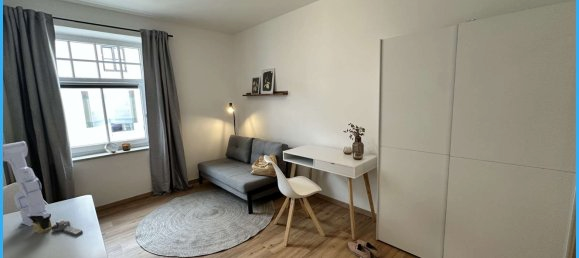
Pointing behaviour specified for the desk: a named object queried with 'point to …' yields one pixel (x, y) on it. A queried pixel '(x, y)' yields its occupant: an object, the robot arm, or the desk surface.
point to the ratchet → (65, 228)
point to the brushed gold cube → (38, 227)
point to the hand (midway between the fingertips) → (42, 227)
